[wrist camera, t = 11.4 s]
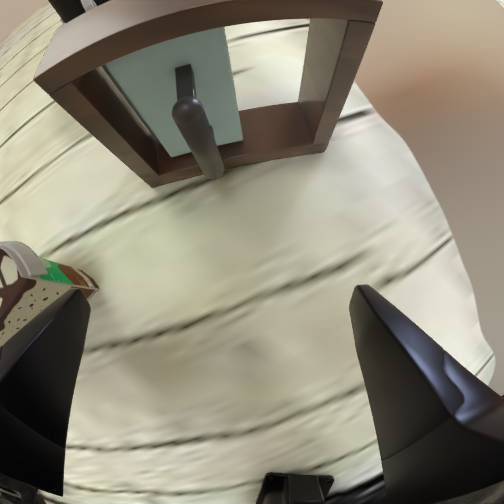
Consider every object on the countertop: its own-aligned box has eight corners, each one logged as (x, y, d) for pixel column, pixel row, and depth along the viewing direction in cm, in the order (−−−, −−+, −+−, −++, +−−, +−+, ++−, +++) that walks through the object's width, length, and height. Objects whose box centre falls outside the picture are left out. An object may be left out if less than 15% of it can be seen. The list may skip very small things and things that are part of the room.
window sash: (241, 133, 20) (221, 16, 9) (252, 184, 19) (238, 76, 8) (170, 150, 20) (103, 53, 9) (176, 202, 19) (91, 121, 8)
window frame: (310, 111, 22) (341, -35, 7) (324, 152, 22) (383, 2, 6) (149, 145, 23) (55, 29, 7) (151, 188, 22) (32, 80, 7)
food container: (79, 226, 22) (2, 198, 12) (109, 277, 21) (25, 270, 11) (20, 303, 21) (-47, 303, 12) (44, 350, 21) (-26, 366, 11)
